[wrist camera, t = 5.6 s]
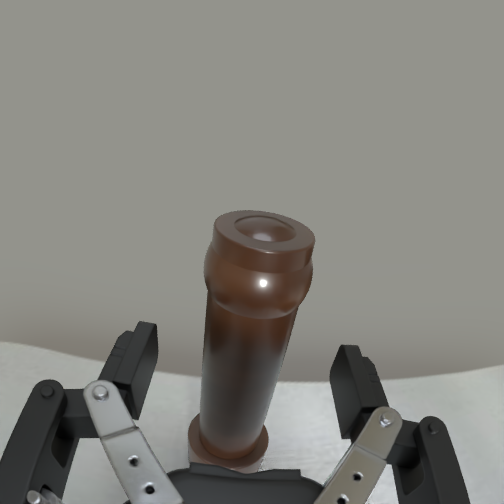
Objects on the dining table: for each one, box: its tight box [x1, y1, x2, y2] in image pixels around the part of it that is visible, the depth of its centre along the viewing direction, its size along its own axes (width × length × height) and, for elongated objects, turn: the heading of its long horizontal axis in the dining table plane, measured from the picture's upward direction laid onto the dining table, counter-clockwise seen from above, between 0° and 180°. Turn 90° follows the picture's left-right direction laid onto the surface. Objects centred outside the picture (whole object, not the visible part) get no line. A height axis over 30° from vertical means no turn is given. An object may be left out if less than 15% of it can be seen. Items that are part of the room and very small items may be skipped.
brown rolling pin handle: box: [188, 210, 315, 474], centre depth 13 cm, size 4×4×15 cm
